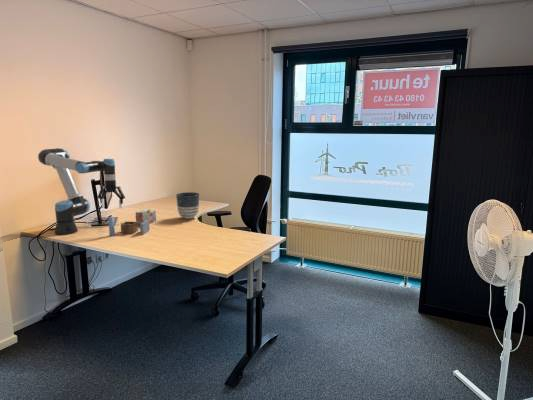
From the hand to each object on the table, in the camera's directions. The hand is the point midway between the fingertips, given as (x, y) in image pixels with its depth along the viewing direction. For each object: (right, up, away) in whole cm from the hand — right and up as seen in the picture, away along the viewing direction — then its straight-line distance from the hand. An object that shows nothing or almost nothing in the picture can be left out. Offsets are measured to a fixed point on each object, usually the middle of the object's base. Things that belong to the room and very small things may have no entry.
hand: (112, 207), depth 280 cm
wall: (+25, -19, +1) cm, 31 cm away
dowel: (+3, -20, -8) cm, 22 cm away
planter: (+48, -10, +46) cm, 67 cm away
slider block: (+13, -18, +2) cm, 22 cm away
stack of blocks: (+17, -14, +27) cm, 35 cm away
